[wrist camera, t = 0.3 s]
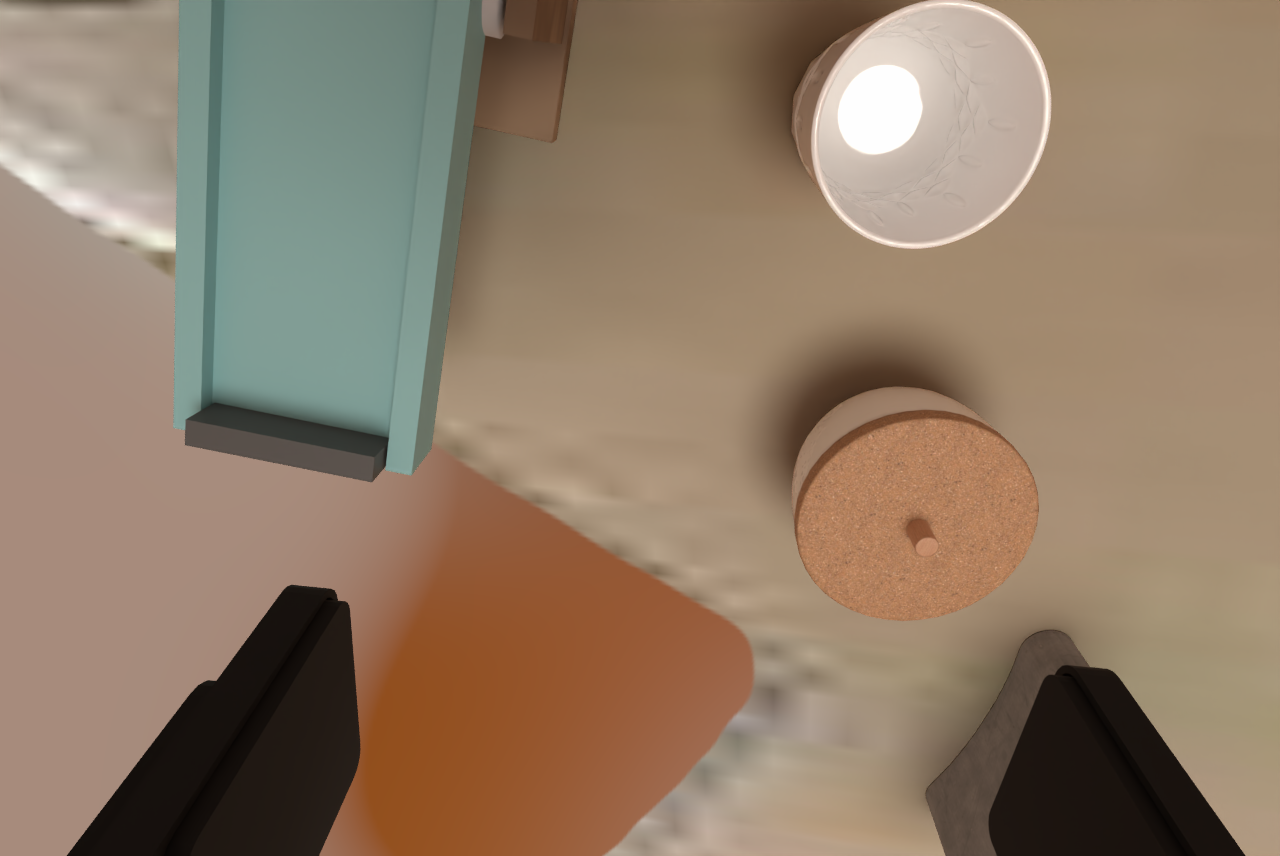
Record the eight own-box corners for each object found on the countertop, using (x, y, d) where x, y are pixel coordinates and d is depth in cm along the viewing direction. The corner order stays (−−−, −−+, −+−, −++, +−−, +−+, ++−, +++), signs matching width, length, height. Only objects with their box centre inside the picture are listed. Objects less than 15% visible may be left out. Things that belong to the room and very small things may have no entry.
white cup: (948, -7, 34) (1048, -32, 25) (961, 180, 37) (1055, 220, 28) (763, 41, 35) (794, 35, 26) (792, 220, 38) (828, 270, 29)
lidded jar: (749, 505, 45) (766, 610, 36) (821, 330, 40) (861, 403, 32) (926, 555, 45) (983, 670, 37) (1016, 390, 41) (1105, 476, 32)
